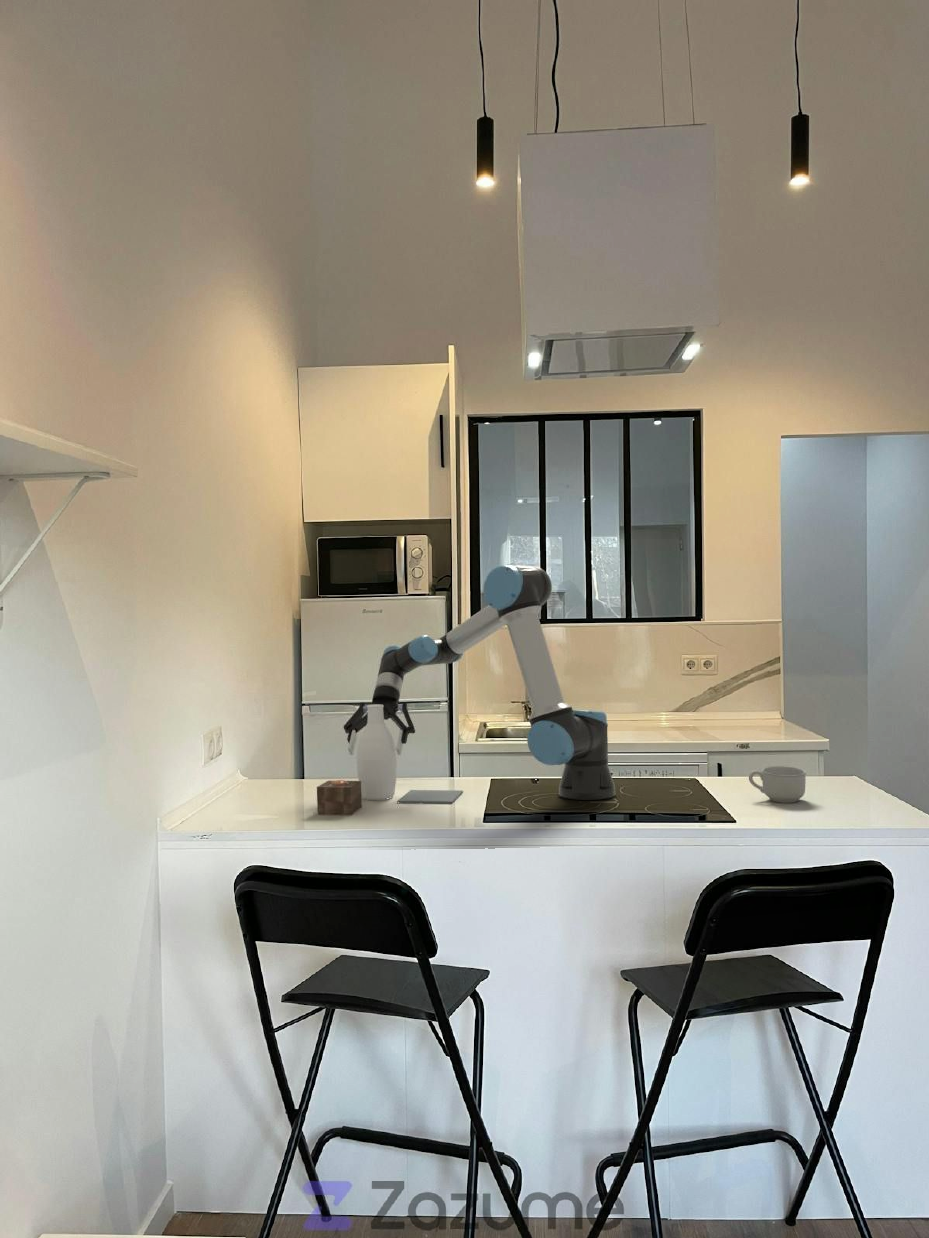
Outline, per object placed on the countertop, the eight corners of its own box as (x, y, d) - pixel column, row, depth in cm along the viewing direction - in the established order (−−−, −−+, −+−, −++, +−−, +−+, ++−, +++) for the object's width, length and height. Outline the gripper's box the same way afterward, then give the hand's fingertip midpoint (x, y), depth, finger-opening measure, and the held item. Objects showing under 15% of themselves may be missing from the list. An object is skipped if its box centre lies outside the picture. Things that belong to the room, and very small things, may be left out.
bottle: (349, 798, 263) (346, 706, 262) (375, 791, 272) (372, 702, 271) (380, 802, 256) (377, 707, 256) (406, 795, 265) (403, 703, 265)
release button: (350, 801, 249) (349, 780, 249) (345, 805, 245) (344, 783, 245) (334, 801, 250) (333, 779, 250) (328, 804, 245) (328, 783, 245)
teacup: (808, 797, 248) (807, 766, 248) (804, 806, 238) (803, 774, 238) (753, 794, 254) (752, 764, 254) (746, 802, 244) (746, 771, 244)
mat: (463, 792, 267) (463, 790, 267) (452, 803, 252) (452, 801, 252) (410, 792, 270) (410, 789, 270) (397, 803, 255) (397, 800, 255)
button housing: (361, 807, 251) (361, 780, 251) (351, 814, 242) (350, 787, 242) (329, 806, 253) (328, 780, 252) (317, 814, 244) (316, 786, 244)
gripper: (431, 699, 277) (421, 760, 262) (349, 700, 281) (334, 759, 267) (427, 683, 271) (416, 743, 257) (342, 684, 276) (327, 743, 262)
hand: (374, 752), depth 262 cm, fingers open, 13 cm apart
